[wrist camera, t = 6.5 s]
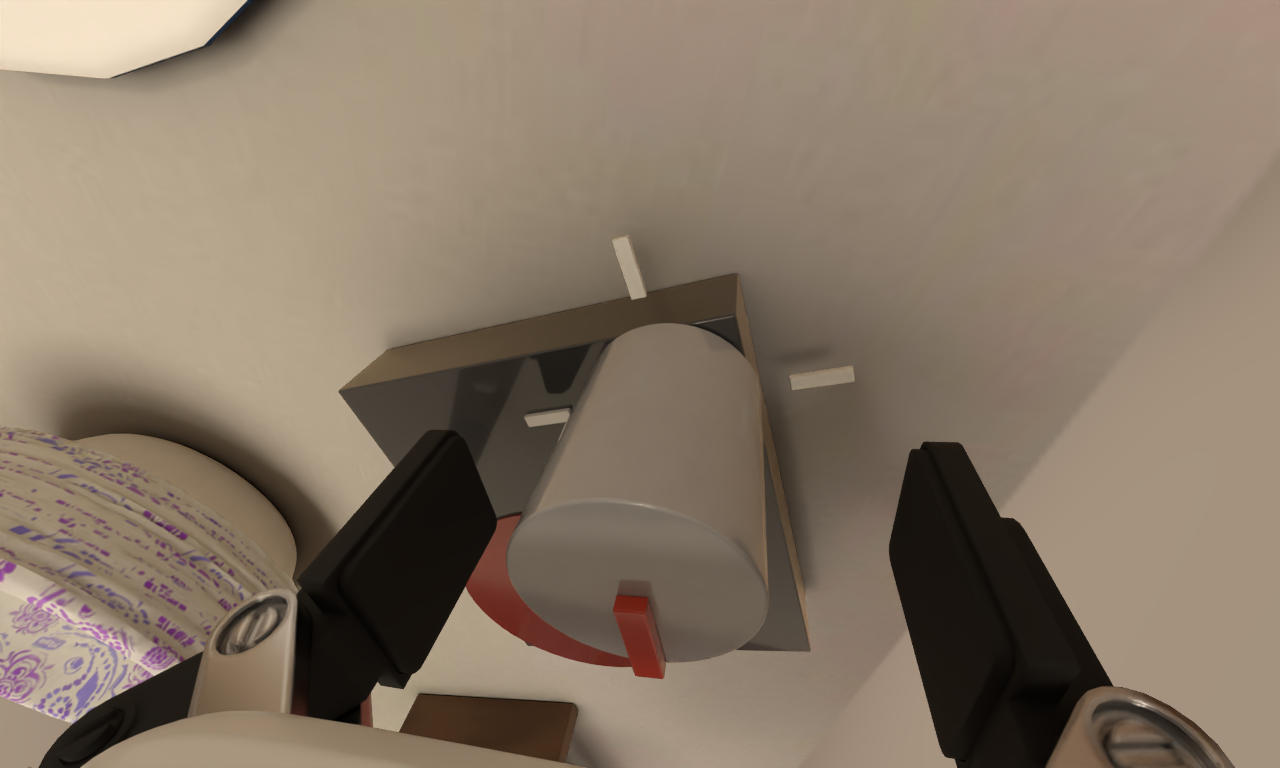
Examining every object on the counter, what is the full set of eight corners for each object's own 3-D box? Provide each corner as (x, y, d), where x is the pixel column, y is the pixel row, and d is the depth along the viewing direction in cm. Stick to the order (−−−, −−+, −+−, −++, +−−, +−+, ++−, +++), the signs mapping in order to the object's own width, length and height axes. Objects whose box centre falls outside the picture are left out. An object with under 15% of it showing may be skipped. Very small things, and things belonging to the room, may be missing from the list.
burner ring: (667, 501, 15) (666, 504, 15) (731, 668, 20) (731, 670, 19) (415, 521, 18) (413, 523, 18) (524, 661, 23) (523, 663, 22)
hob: (819, 155, 11) (836, 182, 9) (865, 590, 19) (880, 658, 17) (346, 287, 16) (282, 326, 13) (546, 595, 24) (526, 650, 22)
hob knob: (572, 328, 12) (456, 513, 7) (757, 315, 11) (765, 521, 6) (608, 462, 14) (539, 667, 10) (764, 462, 13) (773, 692, 8)
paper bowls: (330, 445, 20) (135, 631, 14) (362, 623, 29) (252, 787, 23) (-19, 333, 20) (-377, 466, 14) (119, 545, 29) (-59, 686, 23)
